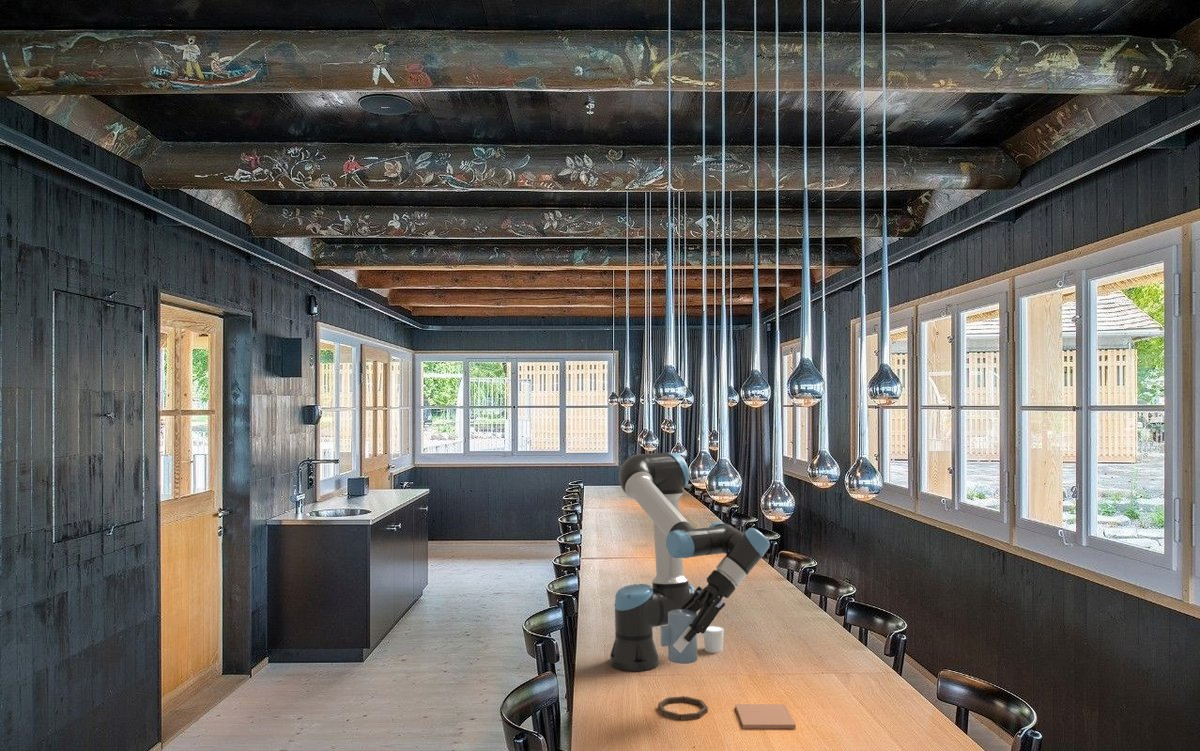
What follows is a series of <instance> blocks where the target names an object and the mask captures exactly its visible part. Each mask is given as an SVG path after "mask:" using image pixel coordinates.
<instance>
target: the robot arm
mask: <svg viewBox="0 0 1200 751" xmlns="http://www.w3.org/2000/svg"><path fill="white" fill-rule="evenodd" d="M618 481H619V484H620V488H621V489H622V491H623V492H624V493H625V495H626V496H627V497H629V498H630V499H633V500H635V502H636V503H637V504H638V505H639V506H640V508H641V509H642V510H643V511H644V512H645V513H646V514H647V516H648V517H649V518H650V519H651V520H652V522H653V535H654V536H653V538H654V539H653V540H654V554H655V569H656V570H655V571H656V574H655V575H656V576H655V577H654V578H653V579H652V581H651V583H652V586H651V585H650V584H648V583H647V584H646V583H639V584H636V583H635V584H628V585H625V586H622V587H621V588H619V589H618V590H617V591H616V593H615V596H614V598H615V599H614V617H615V618H614V619H615V620H614V625H615V626H614V628H615V629H614V630H615V637H614V640H613V641H614V642H613V645H612V648H611V650H610V651H611V652H610V655H609V664H610V666H611V667H613V668H615V669H618V670H621V671H627V672H641V671H642V672H643V671H648V670H652V669H654V668H656V667H658V665H659V654H658V650H657V647H656V645H655V641H654V638H653V637H654V636H653V629H654V628H656V627H660V626H666V625H668V612H669V611H671V610H677V609H686V610H692V611H695V612H696V613H697V612H698V613H697V616H696V618H695V620H694V622H693V624H689V626H688V628H687V629H686V630H685V631H684V632H683V634H682V635H681V636H680V637H679V638H678V640H677V641H676V642H675V643H674V644H673V646H674V647H675V648H676V649H677V650H678V651H679V652H680V653H681V652H682V651H683V650H684V648H685V647H686V646H687V645H688V644H689V642H690V641H691V640H692V639H693V638H694V636H695V635H696V634H697V635H698V634H700V633H701V634H702V635H704V632H705V631H706V629H707V628H708V627H709V626H711V624H712V622H713V621H714V619H716V617H717V615H718V614H719V612H720V611H721V610H723V608H724V607H725V606H726V603H725V602H724V601H723V598H725V599H729V598H730V597H731V595H733V593H734V592H735V591H736V587H738V586H740V584H741V583H742V582H743V581H745V578H746V577H747V576H748V574H750V572H751V571H752V570H753V569H754V567H755V566H756V565H757V564H758V562H759V561H761V559H762V558H763V557H764V555H765V554H766V553H767V551H768V550H769V549H770V546H771V543H770V541H769V539H768V538H767V537H766V536H765V535H764V534H763V533H762V532H760V530H758V529H756V528H754V527H749V528H748V529H746V530H745V532H743V531H741V530H738V529H737V528H735V527H733V526H732V525H730V524H728V523H724V522H721V521H715V522H713V523H712V524H710V525H709V527H700V528H694V527H693V525H692V524H691V523H690V522H688V520H687V519H686V518H685V517H684V516H683V515H682V514H681V512H680V501H679V500H680V498H681V497H682V496H683V494H684V491H683V489H684V488H685V487H687V486H688V484H689V481H690V470H689V467H688V463H687V462H686V461H685V459H684V458H683V456H682V455H680V453H679V454H678V453H675V452H660V453H659V452H658V453H655V452H654V453H638V454H637V453H636V454H634V455H632V456H630V457H628V458H627V459H625V461H624V462H623V463H622V465H621V466H620V469H619V473H618ZM721 554H724V557H723V558H722V560H721V561H719V563H718V564H717V565H716V567H715V569H713V570H712V572H711V573H710V574H709V575H708V576H707V577H706V582H707V583H708V584H707V585H706V586H705V587H704V588H703V587H701V586H697V587H696V589H695V588H694V586H693V585H692V584H690V583H689V578H687V576H686V575H684V565H683V564H684V563H683V559H690V558H695V557H702V556H712V555H721Z"/></svg>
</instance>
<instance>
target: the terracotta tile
mask: <svg viewBox="0 0 1200 751" xmlns="http://www.w3.org/2000/svg"><path fill="white" fill-rule="evenodd" d="M734 708H735V710H736V713H737V715H738V718H739V721H740V724H741V726H742V729H749V730H752V729H755V730H756V729H760V730H763V729H765V730H767V729H768V730H770V729H771V730H772V729H774V730H776V729H777V730H779V729H781V730H782V729H783V730H785V729H786V730H787V729H788V730H791V729H794V730H796V729H797V728H796V727H797V726H796V725H797V724H796V723H795V721H794V718H793V717H792V715H791V714H790V711H789V710H788V708H787V706H786V705H785V703H735V706H734Z"/></svg>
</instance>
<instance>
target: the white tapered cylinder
mask: <svg viewBox="0 0 1200 751" xmlns="http://www.w3.org/2000/svg"><path fill="white" fill-rule="evenodd" d="M724 634H725V629H724V627H722V626H718V625H717V626H716V625H709V627H708V628H707V629H706V631H705V632H704V633H703V642H704V650H705V651H706V652H707V653H713V654H718V653H721V652H723V648H724V647H723V645H724ZM705 651H704V652H705Z"/></svg>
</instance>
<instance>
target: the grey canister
mask: <svg viewBox="0 0 1200 751" xmlns="http://www.w3.org/2000/svg"><path fill="white" fill-rule="evenodd" d="M697 615H698V613H697V612H695V611H692V610H686V609H677V610H671V611H669V612H668V625H662V626H659V627H660V628H659V629H660V646H661V647H662V648H663V647H667V648H668V649H667V650H668V651H667V653H668V657H667V658H668V660H669V661H670V662H671V663H675V664H679V665H680V664H682V665H685V664H686V665H687V664H692V663H693V664H694V663H697V661H698V634H696V635H695V636H694V638H693V639H692V640H691V641H690V642H689V644H688V645H687V646H686V647H685V648H684V650H683V651H682V652H681V653H680V652H679V651H678V650H677V649H676V648H675V647H674V646H673V644H674V643H675V642H676V641H677V640H678V638H679V637H680V636H681V635H682V634H683V632H684V631H685V630H686V629H687V628H688V626H689V624H693V622H694V620H695V618H696V616H697Z"/></svg>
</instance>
